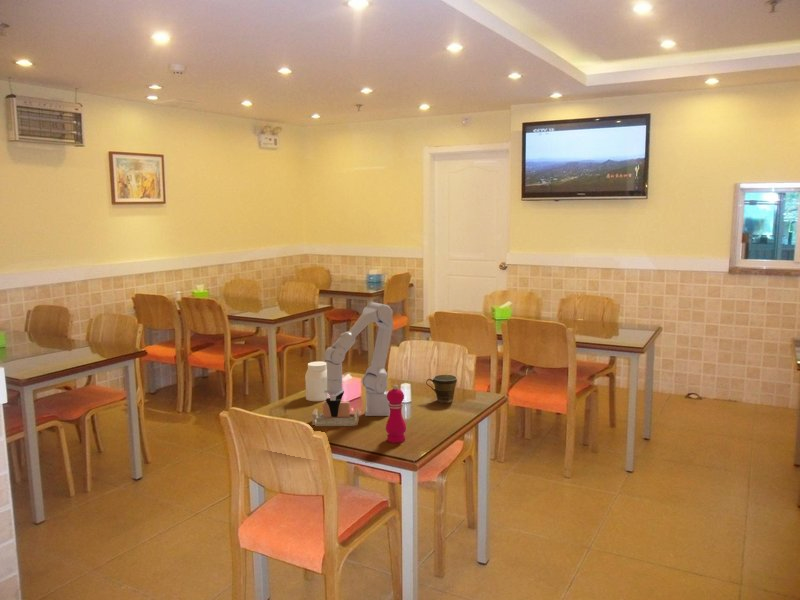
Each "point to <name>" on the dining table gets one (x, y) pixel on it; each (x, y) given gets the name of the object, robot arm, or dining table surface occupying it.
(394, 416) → the pepper mill
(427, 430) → the dining table surface
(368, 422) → the dining table surface
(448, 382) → the ceramic cup
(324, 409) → the door panel
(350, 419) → the door track
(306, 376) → the jar
